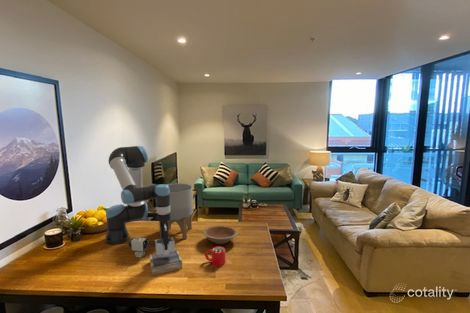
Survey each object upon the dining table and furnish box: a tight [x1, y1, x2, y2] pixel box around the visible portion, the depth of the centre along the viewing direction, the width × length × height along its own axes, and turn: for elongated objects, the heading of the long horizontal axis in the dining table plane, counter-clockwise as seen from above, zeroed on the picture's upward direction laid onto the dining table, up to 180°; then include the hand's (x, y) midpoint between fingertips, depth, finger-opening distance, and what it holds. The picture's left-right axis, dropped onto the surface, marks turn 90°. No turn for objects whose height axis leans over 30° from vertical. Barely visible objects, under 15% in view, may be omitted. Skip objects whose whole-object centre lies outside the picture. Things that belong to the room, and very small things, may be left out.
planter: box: [158, 182, 194, 240], centre depth 187 cm, size 25×25×34 cm
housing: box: [154, 236, 176, 256], centre depth 147 cm, size 10×6×7 cm, turn 113°
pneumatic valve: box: [128, 236, 151, 258], centre depth 158 cm, size 6×12×12 cm, turn 78°
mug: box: [204, 246, 226, 267], centre depth 151 cm, size 8×12×8 cm, turn 86°
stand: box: [149, 248, 183, 276], centre depth 148 cm, size 14×16×5 cm
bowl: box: [202, 224, 239, 245], centre depth 176 cm, size 24×24×8 cm
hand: (165, 251), depth 147 cm, fingers closed on housing, 6 cm apart
